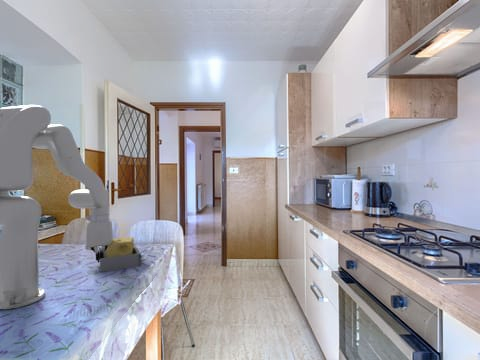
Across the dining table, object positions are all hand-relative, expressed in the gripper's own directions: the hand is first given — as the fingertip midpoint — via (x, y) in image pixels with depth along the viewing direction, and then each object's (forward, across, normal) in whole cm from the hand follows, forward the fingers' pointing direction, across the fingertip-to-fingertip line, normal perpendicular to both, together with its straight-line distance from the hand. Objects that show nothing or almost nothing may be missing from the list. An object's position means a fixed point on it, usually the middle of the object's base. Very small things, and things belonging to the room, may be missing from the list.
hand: (99, 261), depth 116 cm
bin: (+1, +7, 0) cm, 7 cm away
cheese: (+2, +8, -1) cm, 9 cm away
